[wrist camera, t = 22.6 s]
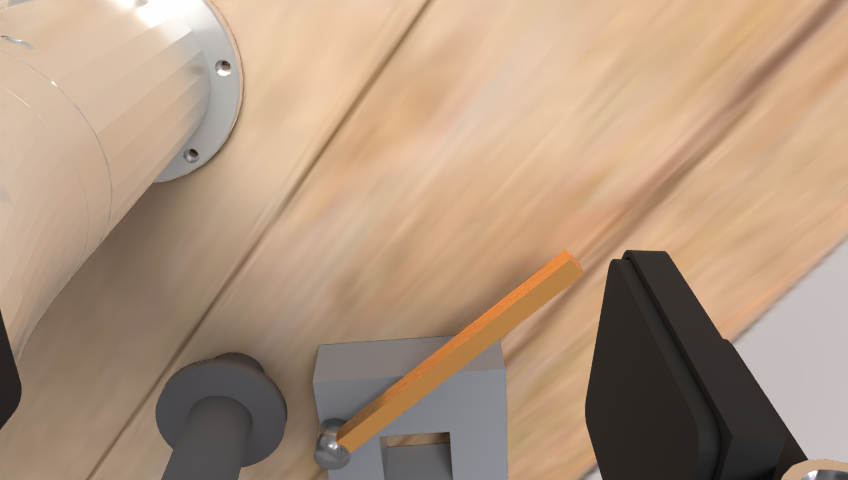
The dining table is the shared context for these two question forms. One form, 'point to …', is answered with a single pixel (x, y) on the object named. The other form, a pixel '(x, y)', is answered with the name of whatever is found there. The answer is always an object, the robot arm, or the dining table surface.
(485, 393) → the socket block
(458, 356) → the orange stick
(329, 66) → the dining table surface
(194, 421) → the plug
